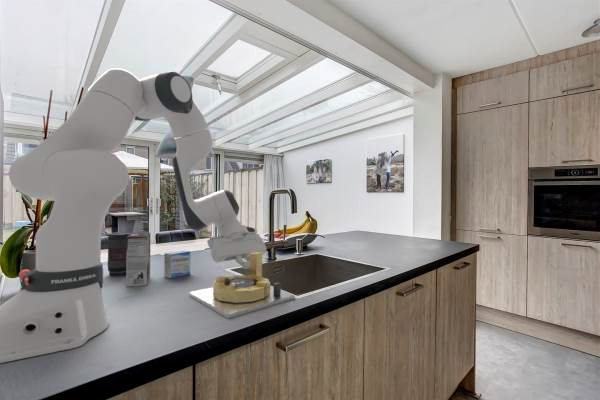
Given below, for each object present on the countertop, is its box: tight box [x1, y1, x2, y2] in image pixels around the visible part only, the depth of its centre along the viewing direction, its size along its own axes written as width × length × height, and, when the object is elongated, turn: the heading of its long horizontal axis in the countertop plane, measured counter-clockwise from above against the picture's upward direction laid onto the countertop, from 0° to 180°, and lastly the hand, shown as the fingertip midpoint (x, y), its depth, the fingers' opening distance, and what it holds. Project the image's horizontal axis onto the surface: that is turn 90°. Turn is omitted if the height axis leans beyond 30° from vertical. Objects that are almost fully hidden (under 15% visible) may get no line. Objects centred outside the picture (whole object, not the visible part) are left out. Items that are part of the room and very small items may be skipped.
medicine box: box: [163, 250, 191, 280], centre depth 111 cm, size 8×4×9 cm, turn 143°
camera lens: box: [107, 232, 132, 278], centre depth 112 cm, size 8×8×15 cm
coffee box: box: [125, 232, 151, 288], centre depth 102 cm, size 9×6×16 cm
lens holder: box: [212, 251, 271, 303], centre depth 90 cm, size 19×16×10 cm
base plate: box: [188, 279, 296, 319], centre depth 89 cm, size 22×22×4 cm
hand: (247, 267), depth 103 cm, fingers closed
